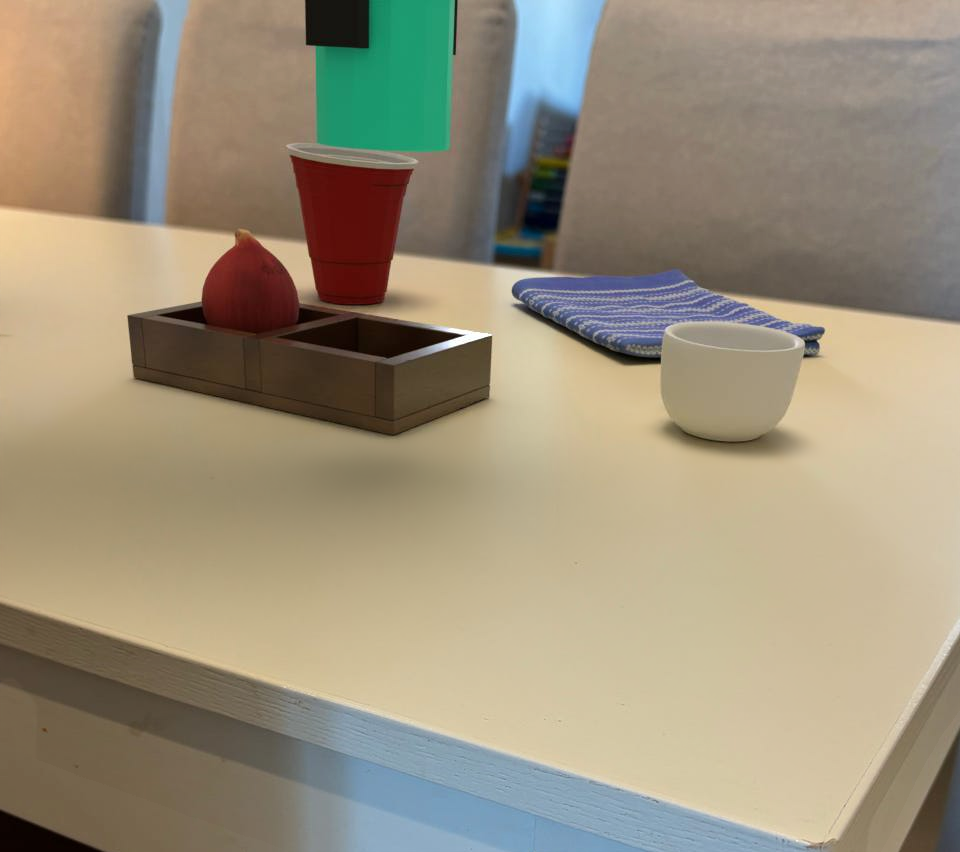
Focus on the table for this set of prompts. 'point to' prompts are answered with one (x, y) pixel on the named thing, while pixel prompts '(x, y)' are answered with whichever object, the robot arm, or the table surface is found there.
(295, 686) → the table surface
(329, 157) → the plastic cup
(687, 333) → the teacup
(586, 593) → the table surface
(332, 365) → the tray
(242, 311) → the onion
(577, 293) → the dish towel
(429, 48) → the candle
